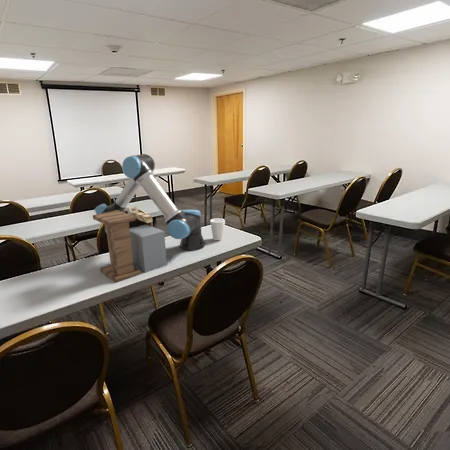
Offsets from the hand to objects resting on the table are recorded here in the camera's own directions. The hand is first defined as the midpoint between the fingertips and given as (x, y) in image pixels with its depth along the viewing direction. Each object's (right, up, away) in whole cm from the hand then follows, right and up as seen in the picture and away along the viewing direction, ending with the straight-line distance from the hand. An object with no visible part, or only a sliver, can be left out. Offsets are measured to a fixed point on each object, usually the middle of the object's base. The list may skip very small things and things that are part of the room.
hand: (133, 209), depth 169 cm
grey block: (+7, -29, +2) cm, 30 cm away
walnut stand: (-5, -33, -8) cm, 34 cm away
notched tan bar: (+3, -5, -1) cm, 6 cm away
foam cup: (+44, -18, +39) cm, 62 cm away
